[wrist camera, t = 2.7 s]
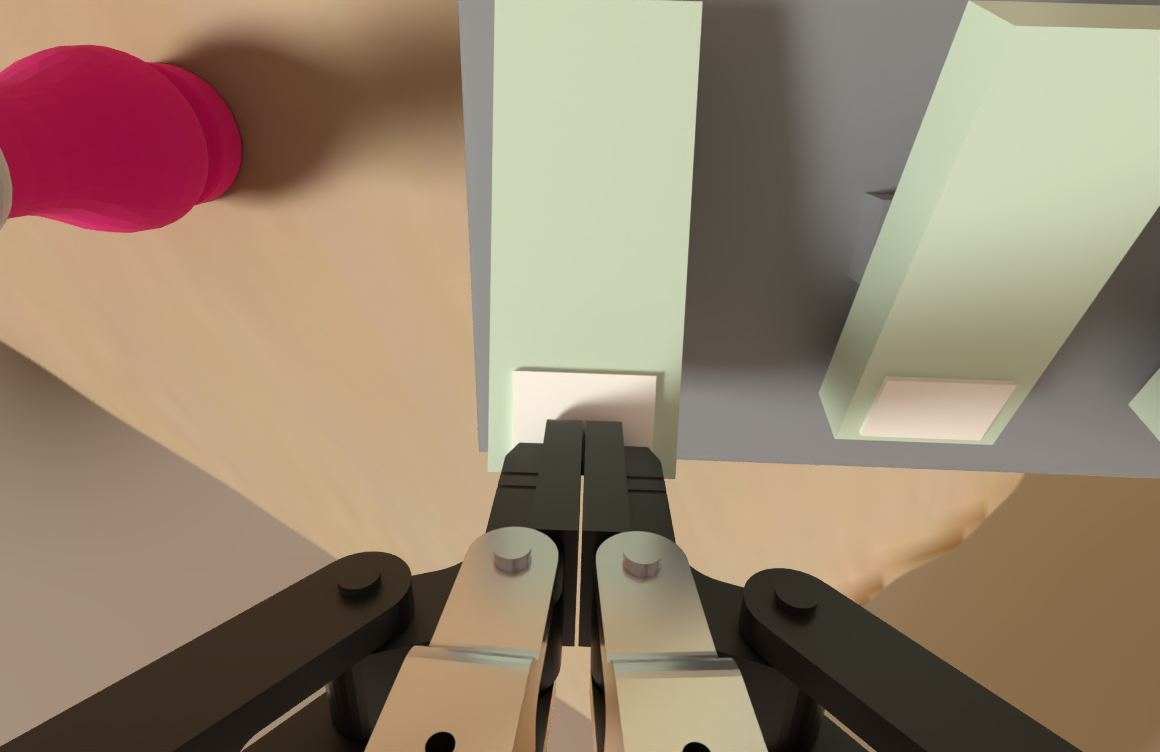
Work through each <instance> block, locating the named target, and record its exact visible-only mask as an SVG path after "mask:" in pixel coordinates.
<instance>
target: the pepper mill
mask: <svg viewBox="0 0 1160 752" xmlns="http://www.w3.org/2000/svg"><path fill="white" fill-rule="evenodd" d="M241 156H242V146H241V140H240V135H239V130H238V127H237V125H236V122H235V120H234V117H233V115H232V113H231V111H230V110H229V108H228V106H227V105H226V103H225V102H224V101H223V99H222V98H221V97H220V96H219V95H218V93H217V92H216V91H215V90H214V89H213V88H212V87H211V86H210V85H209V84H207V83H206V82H205V81H204V80H202V79H201V78H199V77H198V76H196V75H195V74H193V73H191V72H189V71H187V70H185V69H183V68H181V67H177V66H174V65H169V64H164V63H149V62H144V61H142V60H141V59H139V58H137V57H135V56H132V55H130V54H128V53H126V52H122V51H119V50H115V49H112V48H108V47H104V46H96V45H77V46H58V47H54V48H50V49H46V50H42V51H40V52H37V53H35V54H32V55H30V56H28V57H25V58H23V59H21V60H18V61H16V62H14V63H13V64H12V65H10V66H9V67H7V68H6V69H5V70H3V71H2V72H0V229H1V228H2V227H3V225H4V224H5V222H6V221H7V219H9V218H14V217H20V216H27V215H30V216H40V217H45V218H49V219H53V220H57V221H60V222H64V223H67V224H71V225H74V226H77V227H81V228H84V229H90V230H97V231H107V232H122V233H132V232H138V231H144V230H150V229H156V228H161V227H164V226H166V225H168V224H171V223H173V222H175V221H177V220H178V219H180V218H182V217H183V216H184V215H185V214H187V213H188V212H189V211H190V210H191V209H192V208H193V206H194V205H198V204H201V203H205V202H208V201H211V200H213V199H216V198H217V197H219V196H221V195H222V194H223V193H224V192H225V191H226V190H228V189H229V188H230V186H231V185H232V184H233V182H234V181H235V178H236V176H237V174H238V171H239V169H240V164H241Z"/></svg>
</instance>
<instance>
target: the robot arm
mask: <svg viewBox="0 0 1160 752" xmlns="http://www.w3.org/2000/svg"><path fill="white" fill-rule="evenodd" d="M582 428H583V420H557V419H547V421H546V428H545V434H544V441H543V443H520V442H519V443H518V444H517V445H516V446H515V447H514V448H513V449H512V450H511V451H510V452H509V453H508V454H507V455H506V456H505V459H504V463H503V467H502V471H501V475H500V479H499V482H498V488H497V490H496V494H495V498H494V502H493V506H492V510H491V514H490V518H489V521H488V525H487V529H486V533H485V534H484V535H482V536H480V537H479V538H478V539H476V540H475V541H474V542H473V543H472V544H471V546H470V547H469V549H468V551H467V553H466V555H465V558H464V560H463V562H461V563H459V564H457V565H455V566H452V567H449V568H446V569H443V570H439V571H434V572H429V573H424V574H419V575H413V576H411V571H410V568H409V567H408V565H407V564H406V563H405V562H404V561H403V560H402V559H401V558H399V557H397V556H395V555H392V554H389V553H384V552H362V553H357V554H353V555H349V556H346V557H343V558H341V559H339V560H337V561H335V562H333V563H331V564H329V565H327V566H325V567H324V568H322V569H320V570H318V571H316V572H315V573H313V574H311V575H309V576H307V577H306V578H304V579H302V580H300V581H298V582H297V583H295V584H293V585H291V586H289V587H288V588H286V589H284V590H282V591H281V592H279V593H277V594H275V595H273V596H271V597H270V598H268V599H266V600H264V601H262V602H260V603H259V604H257V605H255V606H253V607H252V608H250V609H248V610H246V611H244V612H242V613H241V614H239V615H237V616H235V617H233V618H232V619H230V620H228V621H226V622H224V623H223V624H221V625H219V626H217V627H216V628H213V629H212V630H210V631H208V632H206V633H204V634H203V635H201V636H199V637H197V638H195V639H194V640H192V641H190V642H188V643H186V644H185V645H183V646H181V647H179V648H177V649H176V650H174V651H172V652H170V653H168V654H167V655H165V656H163V657H161V658H159V659H158V660H156V661H154V662H152V663H150V664H149V665H147V666H145V667H143V668H141V669H140V670H138V671H136V672H134V673H132V674H131V675H129V676H127V677H125V678H123V679H121V680H120V681H118V682H116V683H115V684H112V685H111V686H109V687H107V688H105V689H103V690H102V691H100V692H98V693H96V694H94V695H93V696H91V697H89V698H87V699H85V700H84V701H82V702H80V703H78V704H76V705H74V706H73V707H71V708H69V709H67V710H65V711H64V712H62V713H60V714H58V715H56V716H55V717H53V718H51V719H49V720H47V721H46V722H44V723H42V724H40V725H38V726H37V727H35V728H33V729H31V730H30V731H28V732H26V733H24V734H22V735H20V736H19V737H17V738H15V739H13V740H11V741H9V742H8V743H6V744H4V745H2V746H1V747H0V752H240V751H241V750H242V748H243V747H244V745H245V744H246V743H247V742H248V741H249V740H250V739H251V738H252V737H253V736H254V735H255V734H256V733H258V732H259V731H261V730H262V729H263V728H265V727H266V726H268V725H269V724H270V723H272V722H273V721H275V720H276V719H278V718H279V717H281V716H282V715H283V714H285V713H286V712H288V711H289V710H291V709H292V708H293V707H295V706H296V705H298V704H299V703H301V702H302V701H303V700H305V699H306V698H307V697H309V696H311V695H312V694H313V693H315V692H316V691H318V690H319V689H321V688H322V687H323V686H325V687H326V692H325V693H324V694H322V695H321V696H319V697H318V698H316V699H315V700H314V701H312V702H311V703H309V704H308V705H307V706H305V707H304V708H302V709H301V710H300V711H298V712H297V713H295V714H294V715H293V716H291V717H290V718H288V719H287V720H285V721H284V722H283V723H281V724H280V725H278V726H277V727H276V728H274V729H273V730H271V731H270V732H269V733H267V734H266V735H264V736H263V737H261V738H260V739H259V740H258V741H256V742H254V743H253V744H252V745H250V746H249V747H247V748H246V749H245V750H243V751H242V752H547V746H548V739H549V732H550V726H551V719H552V713H553V707H554V700H555V694H556V678H557V676H558V674H559V671H560V666H561V653H562V646H574V642H575V617H576V592H577V567H578V542H579V516H580V489H581V458H582ZM579 646H582V647H591V670H590V706H591V719H592V732H593V745H594V752H868V751H867V750H866V749H865V748H863V747H862V746H861V745H860V744H859V743H858V742H856V741H855V740H854V739H853V738H851V737H850V736H849V735H848V734H847V733H846V732H844V731H843V730H842V729H841V728H840V727H838V726H837V725H836V724H835V723H833V722H832V721H831V720H830V719H829V718H828V717H826V716H825V715H824V710H825V709H826V710H827V711H828V712H829V713H830V714H832V715H833V716H834V717H836V718H837V719H838V720H839V721H840V722H842V723H843V724H844V725H845V726H846V727H848V728H849V729H850V730H851V731H852V732H854V733H855V734H856V735H857V736H859V737H860V738H861V739H862V740H863V741H865V742H866V743H867V744H868V745H869V746H871V747H872V748H873V749H874V750H876V751H877V752H1082V751H1081V750H1079V749H1078V748H1076V747H1075V746H1073V745H1072V744H1070V743H1069V742H1067V741H1065V740H1064V739H1063V738H1061V737H1060V736H1058V735H1056V734H1055V733H1053V732H1052V731H1050V730H1049V729H1047V728H1046V727H1044V726H1043V725H1041V724H1040V723H1038V722H1037V721H1035V720H1034V719H1032V718H1031V717H1029V716H1027V715H1026V714H1024V713H1023V712H1021V711H1020V710H1018V709H1017V708H1015V707H1014V706H1012V705H1011V704H1009V703H1008V702H1006V701H1005V700H1003V699H1001V698H1000V697H998V696H997V695H995V694H994V693H992V692H991V691H989V690H988V689H986V688H985V687H983V686H982V685H980V684H979V683H977V682H976V681H974V680H973V679H971V678H969V677H968V676H966V675H965V674H963V673H962V672H960V671H959V670H957V669H956V668H954V667H953V666H951V665H949V664H948V663H947V662H945V661H943V660H942V659H940V658H939V657H937V656H936V655H934V654H932V653H931V652H930V651H928V650H927V649H925V648H924V647H922V646H921V645H919V644H918V643H916V642H915V641H913V640H911V639H910V638H908V637H907V636H905V635H904V634H902V633H901V632H899V631H898V630H896V629H895V628H893V627H892V626H890V625H889V624H887V623H886V622H884V621H882V620H881V619H879V618H878V617H876V616H875V615H873V614H872V613H870V612H869V611H867V610H866V609H864V608H863V607H861V606H860V605H858V604H857V603H855V602H853V601H852V600H850V599H849V598H847V597H846V596H844V595H843V594H841V593H840V592H838V591H837V590H835V589H834V588H832V587H831V586H829V585H828V584H826V583H824V582H823V581H821V580H819V579H818V578H816V577H814V576H811V575H809V574H807V573H804V572H801V571H797V570H792V569H784V568H773V569H767V570H763V571H760V572H758V573H756V574H754V575H753V576H752V577H750V578H749V580H748V581H747V582H746V584H745V587H744V588H743V587H740V586H736V585H732V584H729V583H725V582H721V581H718V580H715V579H712V578H710V577H708V576H705V575H703V574H702V573H700V572H698V571H696V570H695V569H694V568H692V567H691V566H690V565H689V563H688V560H687V557H686V555H685V553H684V552H683V551H682V549H681V548H680V547H679V546H678V545H677V544H676V542H675V537H674V531H673V525H672V520H671V514H670V509H669V503H668V498H667V494H666V487H665V481H664V476H663V470H662V465H661V461H660V460H659V459H658V458H657V456H656V455H655V454H654V453H653V452H652V451H651V450H650V449H649V448H648V447H635V446H624V440H623V428H622V422H616V421H588V420H586V436H585V464H584V492H583V522H582V553H581V584H580V615H579Z"/></svg>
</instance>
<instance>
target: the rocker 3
mask: <svg viewBox="0 0 1160 752" xmlns="http://www.w3.org/2000/svg"><path fill="white" fill-rule="evenodd" d="M1128 405H1129V406H1130V407H1131V409H1132V410H1133V411H1134V412H1135V413H1136V414H1137V416H1138V417H1139V418H1140V419H1141V420H1142V421H1143V423H1144V424H1145V425H1146V426H1147V427H1148V428H1149V430H1150V431H1151V432H1152V433H1153V434H1154V435H1155V437H1156V438H1157V439H1158V440H1159V441H1160V368H1159V369H1158V371H1157V372H1156V373H1155V374H1154V375H1153V376H1152V377H1151V379H1150V380H1149V381H1148V382H1147V383H1146V384H1145V386H1144V387H1143V388H1142V389H1141V390H1140V391H1139V393H1138V394H1137V395H1136V396H1135V397H1134V398H1133V400H1132V401H1131V402H1130V403H1129V404H1128Z"/></svg>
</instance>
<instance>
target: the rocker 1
mask: <svg viewBox="0 0 1160 752" xmlns="http://www.w3.org/2000/svg"><path fill="white" fill-rule="evenodd" d="M702 3H703V1H668V0H495V13H494V81H493V149H492V217H491V286H490V354H489V422H488V472H501V471H502V467H503V463H504V459H505V456H506V455H507V454H508V453H509V452H510V451H511V450H512V449H513V448H514V447H515V446H516V445H517V444H518V443H519V442H520V443H543V441H544V434H545V428H546V421H547V419H557V420H583V428H582V458H581V475H584V464H585V436H586V420H588V421H616V422H622V428H623V440H624V446H635V447H648V448H649V449H650V450H651V451H652V452H653V453H654V454H655V455H656V456H657V458H658V459H659V460H660V461H661V465H662V470H663V476H664V479H675V475H676V457H677V440H678V422H679V405H680V387H681V370H682V352H683V335H684V317H685V300H686V282H687V265H688V247H689V230H690V212H691V195H692V177H693V160H694V142H695V125H696V107H697V90H698V72H699V55H700V38H701V20H702Z"/></svg>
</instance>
